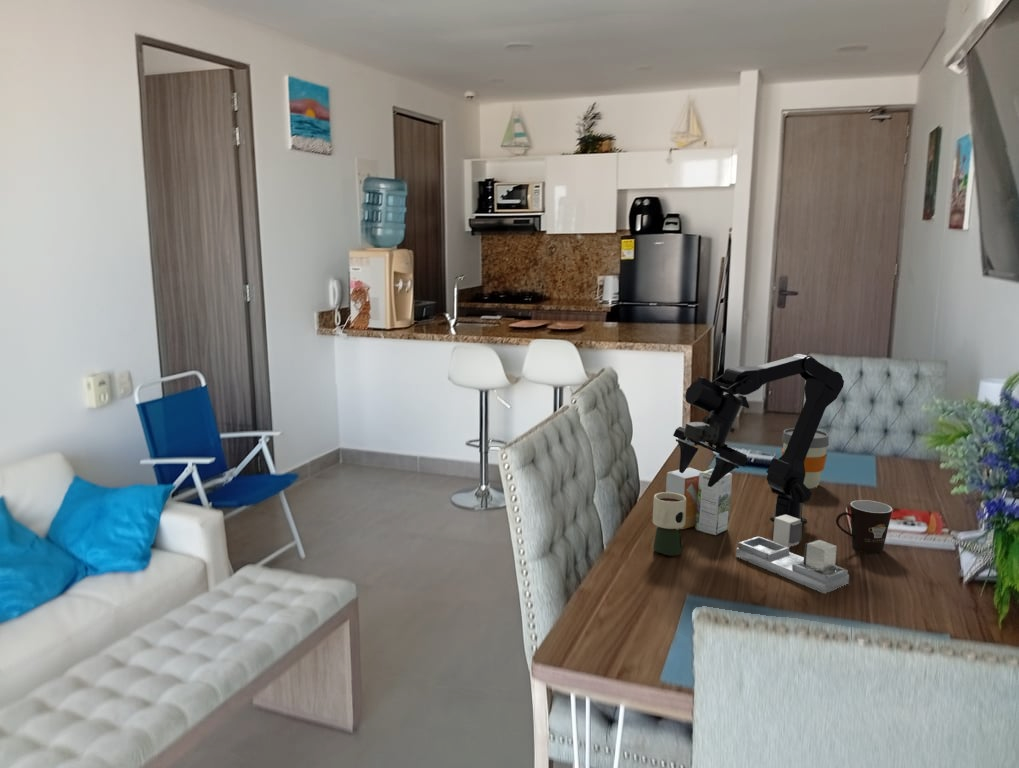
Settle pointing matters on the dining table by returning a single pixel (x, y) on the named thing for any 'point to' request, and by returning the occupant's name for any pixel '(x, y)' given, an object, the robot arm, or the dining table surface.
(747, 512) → the dining table surface
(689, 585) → the dining table surface
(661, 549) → the character mug
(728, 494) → the syrup box
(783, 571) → the rail
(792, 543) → the light grey upright block
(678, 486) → the small box
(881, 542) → the coffee mug
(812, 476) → the reusable coffee cup
